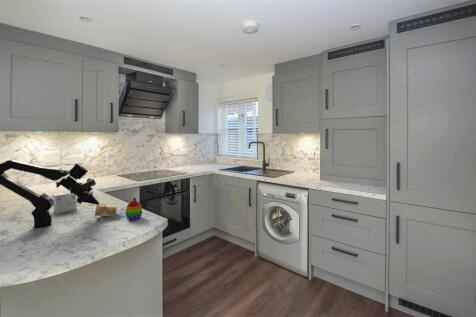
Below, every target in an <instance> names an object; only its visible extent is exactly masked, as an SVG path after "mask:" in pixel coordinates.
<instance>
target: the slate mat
mask: <svg viewBox="0 0 476 317" xmlns="http://www.w3.org/2000/svg"><path fill="white" fill-rule="evenodd" d="M99 218H100V219H99V220H100V221H104V220H105V221H106V220H111V219H119V218H127V217H126V210H125V211H119V212H117V211H116V217H115V216H99Z"/></svg>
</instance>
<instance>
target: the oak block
mask: <svg viewBox="0 0 476 317" xmlns="http://www.w3.org/2000/svg"><path fill="white" fill-rule="evenodd" d="M117 209H118V204H109V203H108V204H107V203H106V204H105V203H99V204H98V205H96V207H95V213H94V216H95V217H97V216H98V217H100V216H115V217H116V213H117Z"/></svg>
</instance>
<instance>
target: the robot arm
mask: <svg viewBox="0 0 476 317" xmlns="http://www.w3.org/2000/svg"><path fill="white" fill-rule="evenodd" d="M12 169H13V170H17V171H20V172H26V173H28V174H29V173H30V174H35V175H39V176H41V177H43V178H45V179H47V180H50V181H53V182H54V181H55V185H56V188H57V189H58V188H60V186H62V187H63V188H64V189H66V190H67V191H68V192H70V193H71V194H72V193H73V194H75V195H76V203H78V204H79V205H81V204H83V203H87V204H92V205H96V206H97V205H98V204H100V202H99V201H98V199H97V198H96V197H95V195H94V191H93V189H94V188H93V186H94V187H95V186H96V184H97V182H96V180H95V179H94V178H91V177H90V178H87V179H86V182H84V183H82V182H78V181H77V180H81V179H82V178H83V177H84V176H85V175H86V174H88V172H89V170H88V169H87V168H85V167H84V166H82V165H81V164H79V163H76V164H74V166H72V168H71V169H69V170H67V169H66V170H65V169H64V170H63V169H62V168H59V167H50V166H49V167H48V166H46V167H45V166H39V165H35V164H31V163H27V162H24V161H23V162H22V161H19V160H15V159H9V160H5V161H4V162H2V163H0V186H2V187H4V188H6V189H7V190H9V191H10V192H13V193H15V194H16V195H18V196H20V197H21V198H23V199H25V200H27V201H29V202H30V204H32V206H33V207H34V209H33V210H32V211H31V212H30V214H31V215H32V217H33V228H34V229H37V228H38V229H39V228H44V227H49V226H51V225H52V223H53V222H52V214H50V209H51V208H52V207H54V206H53V205H54V201H53V196H50V195H48V194H47V193H45V192H44V193H42V194H41V193H39V194H38V193H37V192H34V191H33V190H31V189H30V188H28V187H27V186H25V185H22V183H19V182H18V181H16V180H14V179H12V178H11V177H9V176H8V174H7V173H6V172H7V171H10V170H12ZM66 176H67V177H66ZM59 180H60V181H59Z"/></svg>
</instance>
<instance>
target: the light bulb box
mask: <svg viewBox="0 0 476 317" xmlns="http://www.w3.org/2000/svg"><path fill="white" fill-rule="evenodd" d="M51 197H52V199H53V201H54V205H53V206H52V207H53V212H54V213H56V214H60V213H66V212H71V211H74V210H78V206H77V196H76V195H75V194H73V193H72V194H71V193H70V191H65V192H59V193H54V194H52V195H51Z"/></svg>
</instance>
